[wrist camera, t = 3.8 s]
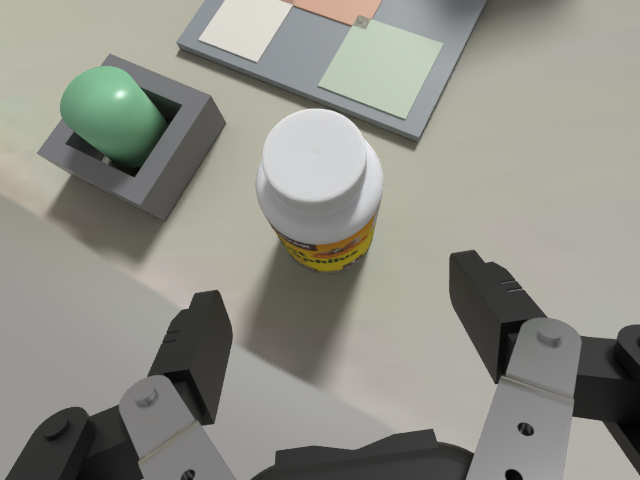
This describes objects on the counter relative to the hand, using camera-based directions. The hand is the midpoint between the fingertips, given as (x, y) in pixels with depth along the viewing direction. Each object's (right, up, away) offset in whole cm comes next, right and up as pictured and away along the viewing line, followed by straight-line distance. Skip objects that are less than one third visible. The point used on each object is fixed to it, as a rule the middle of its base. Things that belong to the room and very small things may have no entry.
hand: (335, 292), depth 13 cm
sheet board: (+1, +20, +15) cm, 25 cm away
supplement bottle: (0, +2, +11) cm, 11 cm away
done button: (-13, +9, +12) cm, 19 cm away
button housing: (-12, +8, +13) cm, 20 cm away
